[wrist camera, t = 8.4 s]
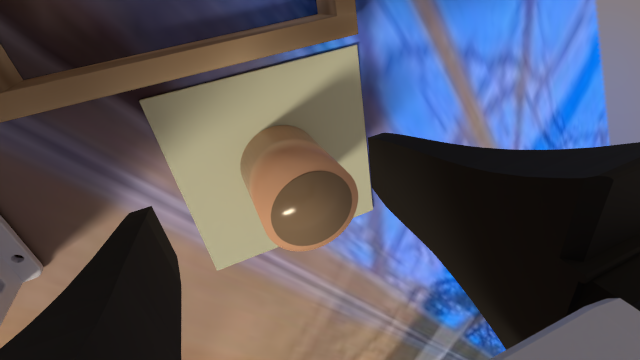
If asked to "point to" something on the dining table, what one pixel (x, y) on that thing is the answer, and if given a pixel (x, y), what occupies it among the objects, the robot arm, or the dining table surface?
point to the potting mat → (246, 122)
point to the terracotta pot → (297, 188)
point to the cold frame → (169, 62)
